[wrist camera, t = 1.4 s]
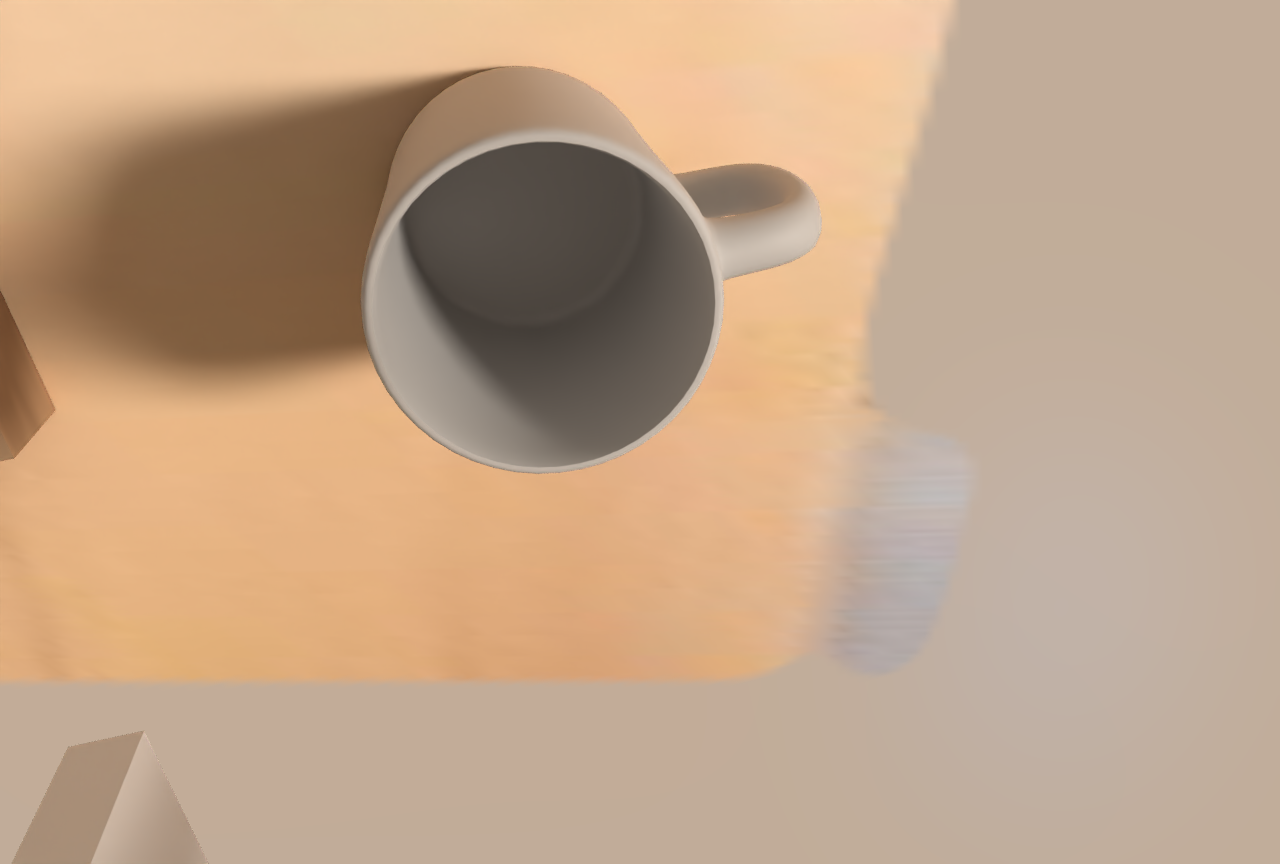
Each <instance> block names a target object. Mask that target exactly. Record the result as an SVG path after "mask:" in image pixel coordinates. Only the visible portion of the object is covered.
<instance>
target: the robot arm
mask: <svg viewBox="0 0 1280 864" xmlns="http://www.w3.org/2000/svg"><path fill="white" fill-rule="evenodd" d="M12 864H209V863H208V861H207V859H206V857H205V855H204V853H203V851H202V849H201V847H200V845H199V843H198V841H197V838H196V836H195V834H194V832H193V830H192V828H191V826H190V824H189V822H188V820H187V818H186V816H185V814H184V812H183V810H182V808H181V806H180V804H179V802H178V800H177V797H176V795H175V793H174V791H173V789H172V787H171V785H170V783H169V781H168V780H167V777H166V775H165V773H164V771H163V769H162V767H161V765H160V763H159V761H158V759H157V757H156V755H155V752H154V751H153V748H152V746H151V744H150V742H149V740H148V738H147V736H146V734H145V732H144V731H140V732H136V733H131V734H126V735H122V736H117V737H113V738H108V739H103V740H99V741H94V742H89V743H85V744H80V745H75V746H71V747H68V749H67V750H66V752H65V754H64V756H63V759H62V761H61V763H60V765H59V767H58V769H57V771H56V773H55V775H54V777H53V779H52V781H51V783H50V786H49V787H48V789H47V792H46V794H45V796H44V798H43V800H42V802H41V804H40V806H39V808H38V810H37V812H36V815H35V816H34V819H33V820H32V823H31V825H30V827H29V829H28V831H27V833H26V835H25V837H24V839H23V841H22V843H21V845H20V847H19V850H18V851H17V854H16V856H15V858H14V860H13V862H12Z"/></svg>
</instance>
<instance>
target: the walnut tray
mask: <svg viewBox="0 0 1280 864" xmlns="http://www.w3.org/2000/svg"><path fill="white" fill-rule="evenodd" d="M54 411H55V408H54V406H53V404H52V401H51V399H50V397H49V395H48V393H47V391H46V388H45V386H44V384H43V382H42V380H41V378H40V376H39V373H38V371H37V369H36V367H35V365H34V363H33V360H32V358H31V356H30V354H29V352H28V350H27V347H26V345H25V343H24V341H23V339H22V337H21V334H20V332H19V330H18V328H17V326H16V324H15V321H14V319H13V317H12V315H11V313H10V311H9V308H8V306H7V304H6V302H5V300H4V298H3V296H2V293H1V291H0V461H4V460H9V459H14V458H15V457H16V456H17V455H18V453H19V452H20V451H21V450H22V449H23V448H24V446H25V445H26V444H27V443H28V442H29V440H30V439H31V438H32V437H33V436H34V435H35V433H36V432H37V431H38V430H39V429H40V428H41V426H42V425H43V424H44V423H45V422H46V421H47V419H48V418H49V417H50V416H51V415H52V413H53V412H54Z"/></svg>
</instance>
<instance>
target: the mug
mask: <svg viewBox="0 0 1280 864" xmlns="http://www.w3.org/2000/svg"><path fill="white" fill-rule="evenodd" d="M732 215H735V216H732ZM725 216H728V217H725ZM821 224H822V219H821V212H820V207H819V202H818V200H817V198H816V196H815V194H814V193H813V191H812V189H811V188H810V186H809V185H808V184H806V183H805V182H804V181H803V180H802V179H800V178H799V177H797V176H796V175H794V174H792V173H791V172H789V171H786V170H784V169H781V168H778V167H774V166H771V165H764V164H734V165H727V166H720V167H714V168H708V169H703V170H697V171H692V172H687V173H681V174H673V173H672V172H671V171H670V170H669V169H668V168H667V166H666V165H665V164H664V163H663V162H662V161H661V160H660V159H659V158H658V156H657V155H656V154H655V153H654V152H653V150H652V149H651V148H650V147H649V146H648V144H647V143H646V142H645V141H644V139H643V138H642V137H641V136H640V134H639V133H638V132H637V130H636V129H635V128H634V126H633V125H632V123H631V122H630V121H629V119H628V118H627V117H626V116H625V115H624V114H623V113H622V112H621V111H620V110H619V108H618V107H617V106H616V105H615V104H614V103H612V102H611V101H610V100H609V99H608V98H606V97H605V96H604V95H603V94H602V93H600V92H599V91H597V90H595V89H594V88H592V87H591V86H589V85H587V84H586V83H584V82H582V81H580V80H578V79H575V78H573V77H571V76H569V75H566V74H563V73H560V72H556V71H553V70H549V69H543V68H537V67H522V66H512V67H504V68H495V69H491V70H487V71H484V72H480V73H476V74H474V75H472V76H469V77H467V78H464V79H462V80H460V81H458V82H456V83H455V84H453V85H451V86H450V87H448V88H446V89H445V90H443V91H442V92H441V93H440V94H438V95H437V96H436V97H435V98H433V99H432V100H431V101H430V102H429V103H428V104H427V105H426V106H425V107H424V108H423V109H422V110H421V111H420V112H419V113H418V115H417V116H416V117H415V119H414V120H413V122H412V123H411V124H410V126H409V127H408V129H407V130H406V132H405V134H404V136H403V138H402V140H401V142H400V143H399V145H398V148H397V150H396V153H395V156H394V159H393V162H392V165H391V169H390V174H389V178H388V183H387V188H386V191H385V194H384V198H383V201H382V204H381V207H380V211H379V214H378V217H377V221H376V224H375V227H374V230H373V234H372V237H371V240H370V243H369V247H368V250H367V255H366V260H365V265H364V270H363V275H362V287H361V312H362V323H363V330H364V334H365V339H366V343H367V347H368V351H369V354H370V356H371V359H372V361H373V364H374V367H375V369H376V372H377V374H378V375H379V377H380V379H381V381H382V383H383V385H384V386H385V388H386V390H387V392H388V393H389V394H390V396H391V397H392V398H393V400H394V401H395V403H396V404H397V405H398V407H399V408H400V409H401V410H402V411H403V412H404V413H405V415H406V416H407V417H408V418H409V419H410V420H411V421H412V422H413V423H414V424H415V425H416V426H417V427H418V428H420V429H421V430H422V431H423V432H425V433H426V434H427V435H428V436H429V437H431V438H432V439H433V440H435V441H436V442H438V443H439V444H441V445H443V446H444V447H446V448H447V449H449V450H451V451H452V452H454V453H456V454H459V455H461V456H463V457H465V458H467V459H470V460H472V461H474V462H478V463H481V464H484V465H487V466H490V467H493V468H498V469H503V470H508V471H513V472H523V473H535V474H541V473H561V472H567V471H574V470H580V469H584V468H588V467H591V466H595V465H598V464H602V463H604V462H607V461H609V460H612V459H614V458H617V457H619V456H622V455H624V454H626V453H627V452H629V451H631V450H633V449H635V448H636V447H638V446H640V445H642V444H643V443H644V442H646V441H647V440H649V439H650V438H651V437H653V436H654V435H656V434H657V433H659V432H660V431H661V430H662V429H663V428H664V427H665V426H666V425H667V424H668V423H670V422H671V421H672V420H673V419H674V418H675V417H676V416H677V415H678V413H679V412H680V411H681V410H682V409H683V408H684V407H685V405H686V404H687V403H688V402H689V401H690V399H691V398H692V396H693V395H694V393H695V392H696V390H697V389H698V387H699V386H700V384H701V382H702V380H703V378H704V376H705V374H706V372H707V370H708V368H709V366H710V364H711V361H712V358H713V355H714V353H715V350H716V347H717V344H718V340H719V335H720V331H721V326H722V321H723V307H724V290H723V281H724V280H727V279H730V278H734V277H738V276H742V275H746V274H750V273H754V272H758V271H762V270H766V269H770V268H773V267H777V266H780V265H783V264H786V263H789V262H792V261H794V260H796V259H798V258H800V257H802V256H803V255H805V254H806V253H808V252H809V251H810V250H811V249H813V248H814V247H815V245H816V243H817V241H818V238H819V235H820V233H821Z"/></svg>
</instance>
